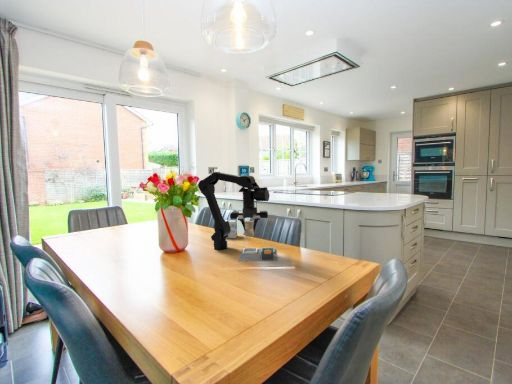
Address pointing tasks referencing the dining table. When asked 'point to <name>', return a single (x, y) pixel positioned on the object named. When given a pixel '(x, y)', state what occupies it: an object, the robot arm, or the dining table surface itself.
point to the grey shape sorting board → (258, 254)
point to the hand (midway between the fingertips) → (249, 231)
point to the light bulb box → (232, 228)
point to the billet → (249, 228)
